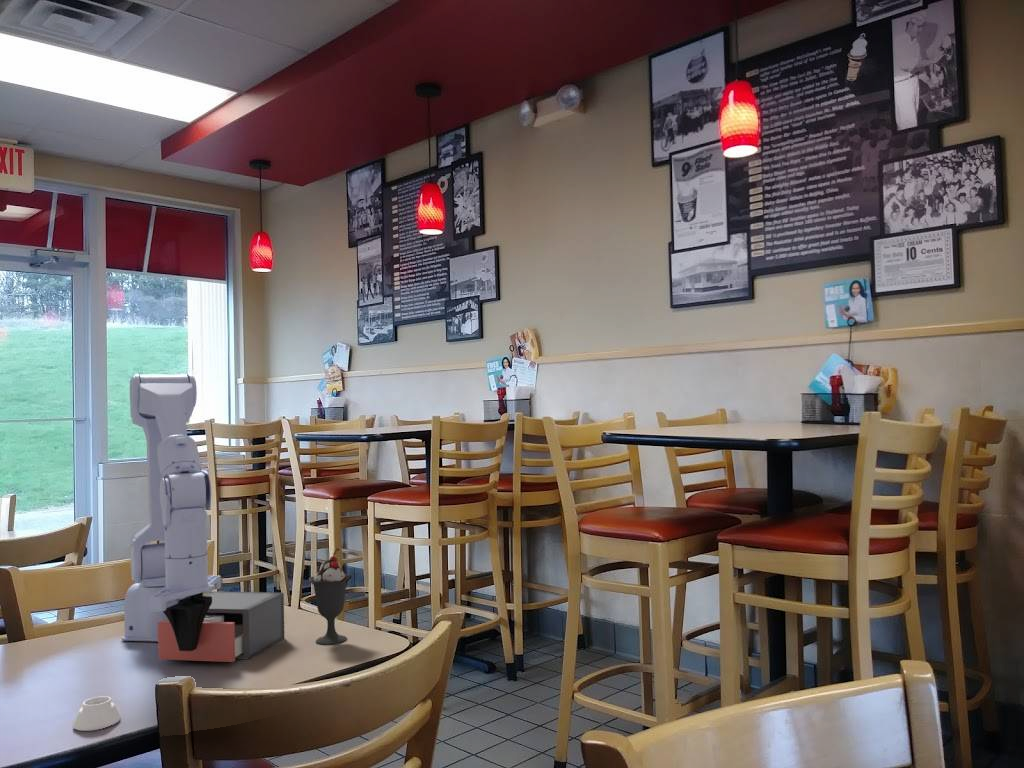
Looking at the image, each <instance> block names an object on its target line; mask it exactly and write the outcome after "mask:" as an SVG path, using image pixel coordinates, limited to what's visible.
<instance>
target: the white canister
mask: <svg viewBox="0 0 1024 768" xmlns="http://www.w3.org/2000/svg"><path fill="white" fill-rule="evenodd" d="M203 622H224V614H222V613H206V616H205V618H204V621H203Z"/></svg>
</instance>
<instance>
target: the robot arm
mask: <svg viewBox="0 0 1024 768" xmlns="http://www.w3.org/2000/svg"><path fill="white" fill-rule="evenodd" d="M197 390H198V389H197V381H196V378H195V376H194V375H192V373H186V374H139V373H133V375H132V376H131V377H130V380H129V402H130V403H129V406H130V410H129V411H130V418H131V423H132V424H133V425H135V426H138V427H141V428H142V429H143V433H144V436H145V440H146V463H147V466H146V469H147V499H148V502H147V503H148V524H147V525H146V526H144V527H143V528H142V529H140V531H138V532H137V533H136V534H135V535H134V536H133V537H132V538H133V539H132V540H131V550H130V573H131V574H130V575H131V579H132V581H133V582H134V583H133V584H132V585H130V586H129V587H128V589H127V591H126V594H125V597H124V603H123V605H124V608H123V611H124V620H123V621H124V635H123V636H122V637H121V641H125V642H126V641H128V642H129V641H130V642H132V641H133V642H156V643H158V622H159V621H169V622H170V624H171V626H172V628H173V631H174V634H175V637H176V641H177V644H178V647H179V651H193V650H195V649H197V645H198V641H199V636H200V632H201V628H202V624H203V621H204V618H205V616H206V613H207V611H208V609H209V607H210V606H211V604H212V597H210V596H203V595H204V594H206V593H209V592H213V591H215V590H219V589H221V588H222V578H221V575H215V574H214V575H209V573H208V571H209V567H208V566H209V565H208V560H209V559H208V517H207V516H208V513H207V511H209V510H210V508H211V502H212V485H211V484H212V482H211V479H210V473H209V471H208V470H206V467H205V466H202V464H201V459H200V455H199V448H198V444H197V442H196V441H195V440H194V438H192V437H190V436H188V429H187V423H189V422H190V419H191V417H192V414H193V411H194V409H195V407H196V404H197V398H198V397H197V396H198V395H197V393H198V392H197ZM206 510H207V511H206ZM158 541H159V542H160V541H164V542H162V543H152V544H147V543H150V542H158Z"/></svg>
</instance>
